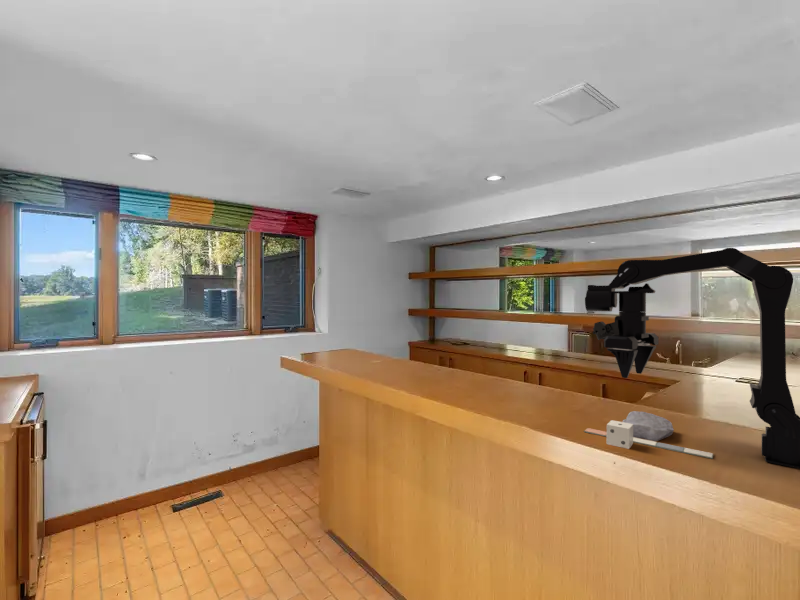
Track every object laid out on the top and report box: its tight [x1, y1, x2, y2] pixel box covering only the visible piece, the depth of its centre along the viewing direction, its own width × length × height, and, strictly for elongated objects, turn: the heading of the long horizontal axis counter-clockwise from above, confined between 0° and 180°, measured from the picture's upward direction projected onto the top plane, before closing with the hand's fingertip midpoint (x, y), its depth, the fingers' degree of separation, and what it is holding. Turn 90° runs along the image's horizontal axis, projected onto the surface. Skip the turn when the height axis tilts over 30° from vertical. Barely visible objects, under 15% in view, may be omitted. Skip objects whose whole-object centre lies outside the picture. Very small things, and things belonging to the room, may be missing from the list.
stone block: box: [622, 410, 675, 442], centre depth 98 cm, size 12×5×10 cm
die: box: [605, 419, 634, 450], centre depth 90 cm, size 4×4×4 cm
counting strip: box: [583, 427, 714, 460], centre depth 91 cm, size 25×3×1 cm, turn 50°
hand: (632, 375), depth 98 cm, fingers open, 9 cm apart
